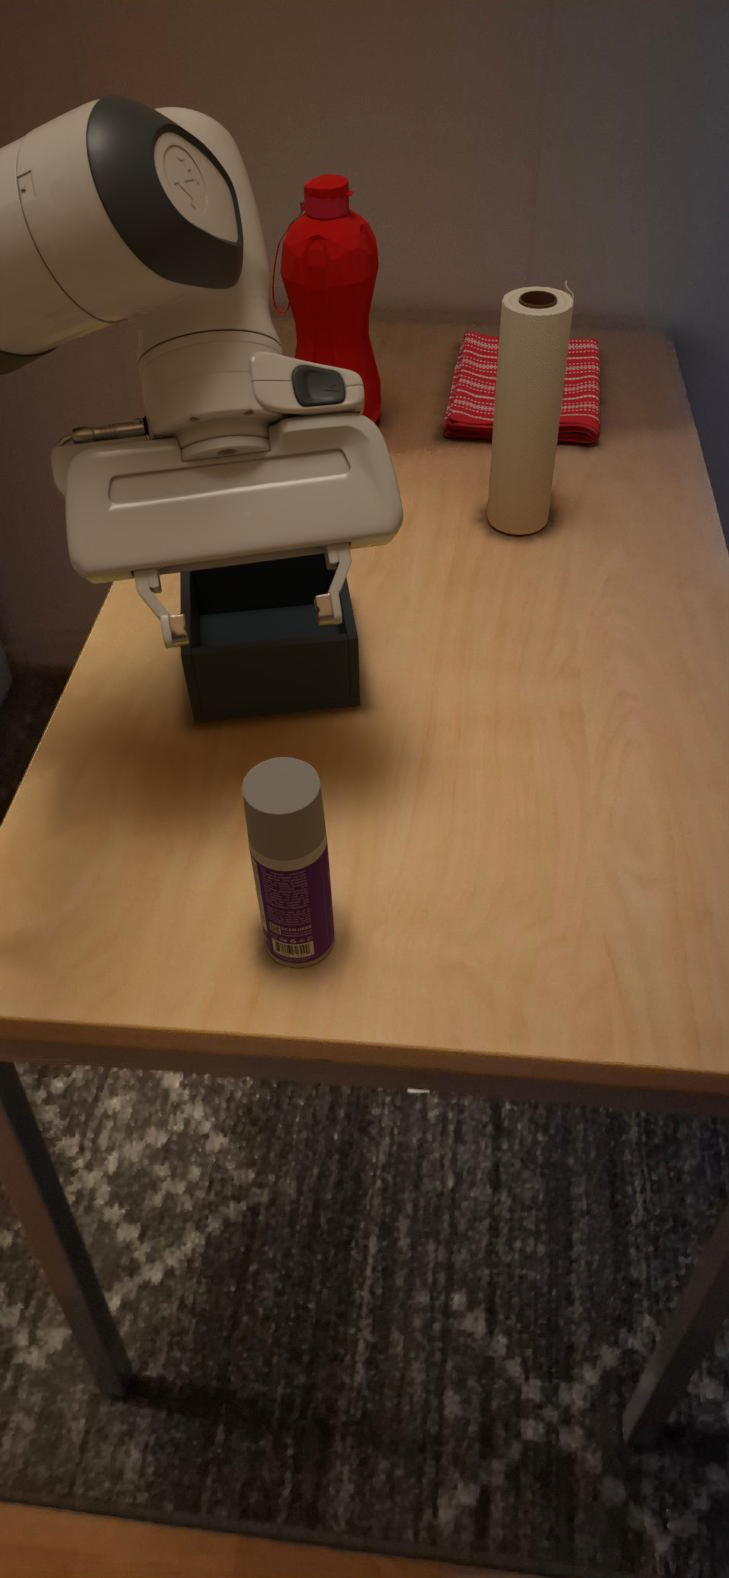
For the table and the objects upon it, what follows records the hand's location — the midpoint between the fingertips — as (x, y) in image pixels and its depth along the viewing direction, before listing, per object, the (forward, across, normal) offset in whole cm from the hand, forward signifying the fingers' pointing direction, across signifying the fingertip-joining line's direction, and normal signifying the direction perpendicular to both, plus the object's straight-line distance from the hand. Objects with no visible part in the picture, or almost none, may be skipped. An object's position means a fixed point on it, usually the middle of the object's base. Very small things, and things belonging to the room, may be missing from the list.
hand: (254, 635), depth 64 cm
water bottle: (-28, +14, +53) cm, 62 cm away
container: (+20, 0, +5) cm, 21 cm away
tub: (-1, +2, +25) cm, 25 cm away
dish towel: (-29, +37, +54) cm, 72 cm away
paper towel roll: (-12, +29, +37) cm, 48 cm away
